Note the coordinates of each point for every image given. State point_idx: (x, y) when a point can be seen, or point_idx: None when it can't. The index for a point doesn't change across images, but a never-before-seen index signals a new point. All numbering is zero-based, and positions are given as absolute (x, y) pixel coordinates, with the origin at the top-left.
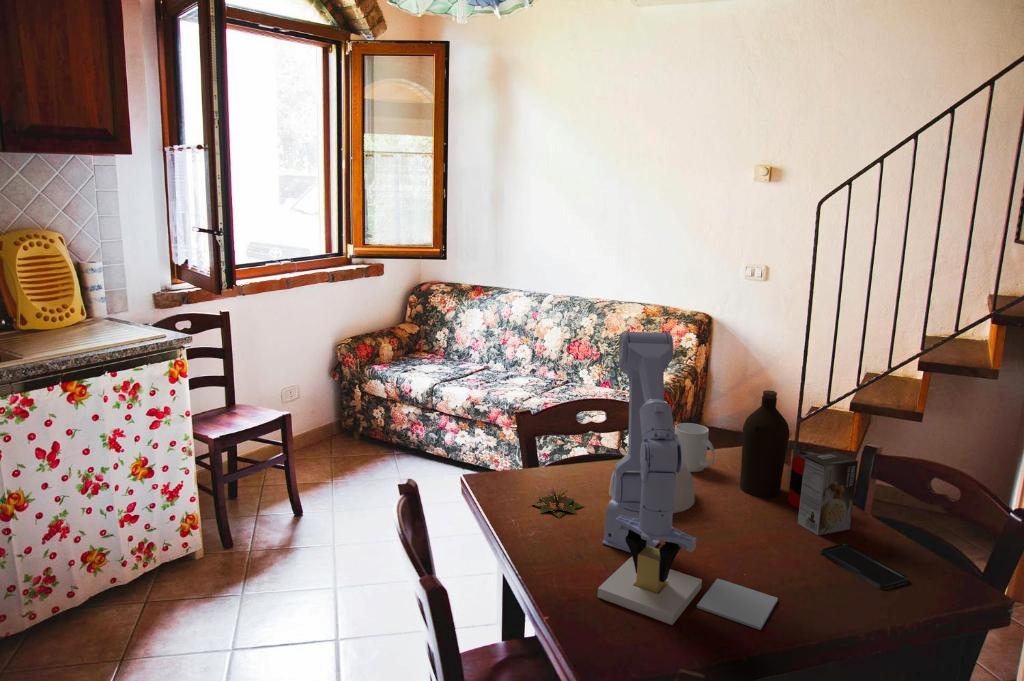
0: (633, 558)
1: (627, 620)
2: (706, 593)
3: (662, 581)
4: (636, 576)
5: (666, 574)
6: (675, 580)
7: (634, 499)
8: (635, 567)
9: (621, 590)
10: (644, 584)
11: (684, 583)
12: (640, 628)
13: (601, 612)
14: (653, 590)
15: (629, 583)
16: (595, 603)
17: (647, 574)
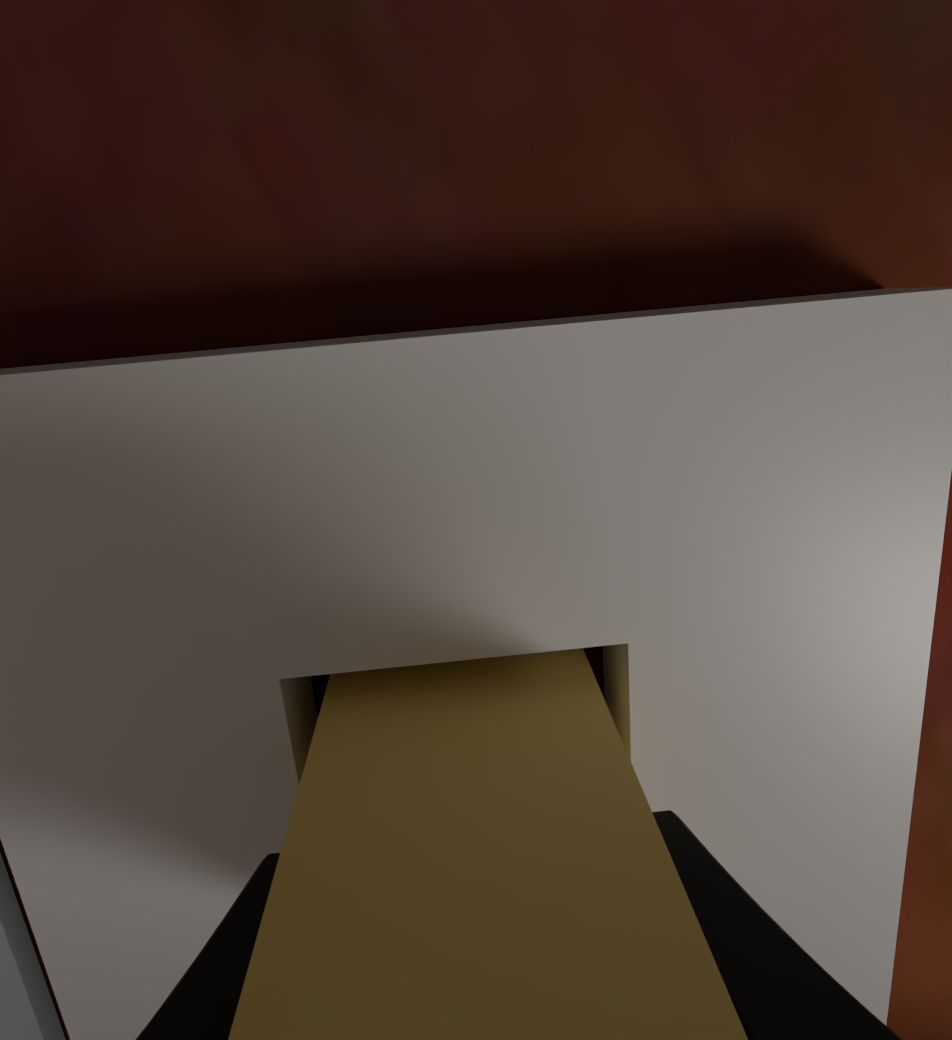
0: (828, 986)
1: (372, 85)
2: (36, 1036)
3: (268, 860)
4: None
5: None
6: None
7: None
8: (708, 861)
9: (683, 452)
10: (488, 714)
11: None
12: (155, 34)
13: (711, 11)
14: (364, 708)
15: (672, 653)
16: (855, 149)
17: (465, 828)
